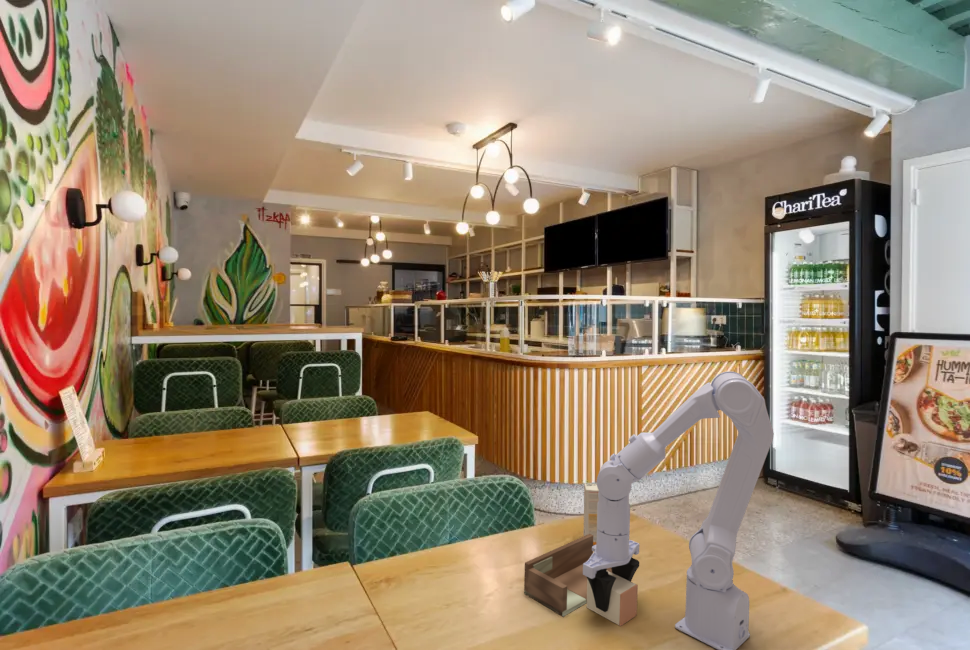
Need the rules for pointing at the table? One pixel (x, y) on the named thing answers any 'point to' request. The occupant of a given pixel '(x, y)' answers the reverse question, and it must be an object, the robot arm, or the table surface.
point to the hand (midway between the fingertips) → (611, 603)
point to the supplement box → (590, 510)
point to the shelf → (560, 576)
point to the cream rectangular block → (617, 601)
